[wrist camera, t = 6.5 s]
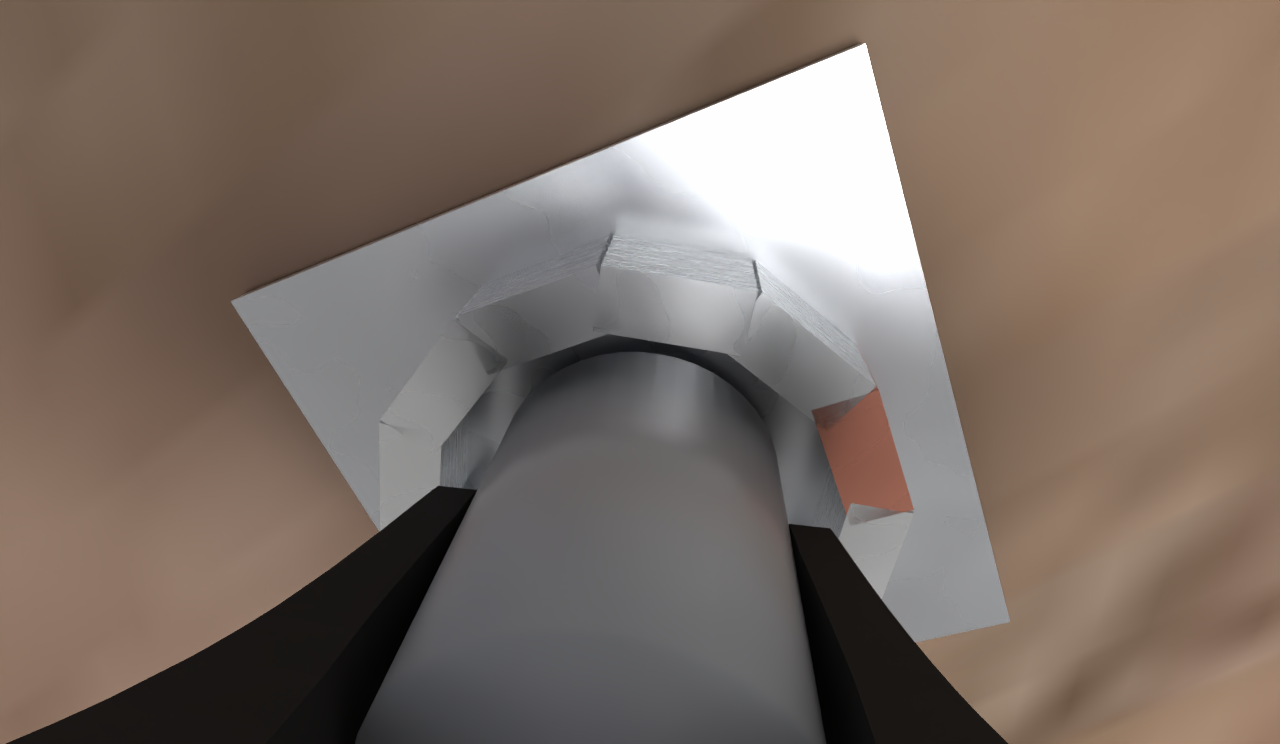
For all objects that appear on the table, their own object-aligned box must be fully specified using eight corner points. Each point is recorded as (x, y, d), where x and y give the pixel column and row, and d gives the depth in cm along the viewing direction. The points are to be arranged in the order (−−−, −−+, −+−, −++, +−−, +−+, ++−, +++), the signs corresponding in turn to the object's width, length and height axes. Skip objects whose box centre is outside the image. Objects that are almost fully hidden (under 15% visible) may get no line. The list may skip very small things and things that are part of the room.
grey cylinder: (511, 579, 14) (363, 1007, 8) (491, 347, 12) (266, 678, 6) (767, 594, 13) (820, 1052, 7) (790, 357, 11) (889, 720, 5)
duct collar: (243, 293, 13) (168, 336, 11) (859, 42, 10) (892, 45, 9) (511, 715, 17) (489, 797, 15) (1002, 607, 15) (1044, 688, 13)
